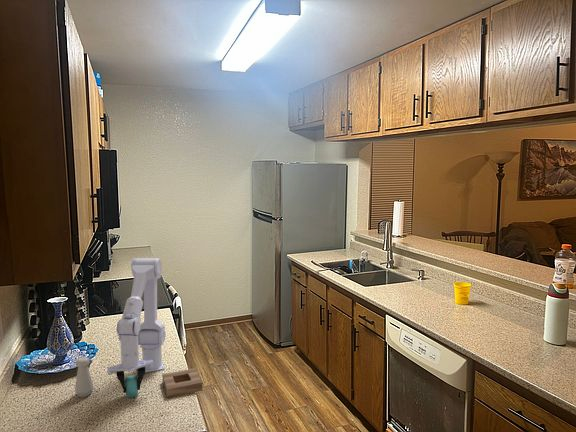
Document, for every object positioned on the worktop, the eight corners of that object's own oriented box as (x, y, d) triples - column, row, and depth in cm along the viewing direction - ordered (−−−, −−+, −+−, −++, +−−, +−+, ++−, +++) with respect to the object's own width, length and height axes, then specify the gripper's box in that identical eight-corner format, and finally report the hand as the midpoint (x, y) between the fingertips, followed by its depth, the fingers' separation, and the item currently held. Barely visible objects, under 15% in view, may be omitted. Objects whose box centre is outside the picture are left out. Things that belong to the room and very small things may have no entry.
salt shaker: (88, 388, 157) (86, 353, 156) (96, 393, 153) (94, 357, 152) (72, 395, 153) (70, 359, 151) (80, 400, 149) (77, 363, 147)
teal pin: (125, 393, 154) (124, 376, 153) (137, 390, 155) (136, 374, 154) (126, 398, 150) (125, 381, 149) (138, 396, 152) (137, 379, 151)
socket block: (162, 382, 161) (162, 374, 161) (195, 375, 166) (195, 368, 166) (167, 397, 150) (167, 389, 150) (202, 390, 155) (202, 382, 155)
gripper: (107, 360, 144) (109, 400, 146) (153, 353, 150) (154, 391, 152) (106, 352, 151) (108, 390, 152) (150, 345, 156) (152, 382, 158)
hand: (131, 390), depth 152 cm, fingers closed on teal pin, 4 cm apart
